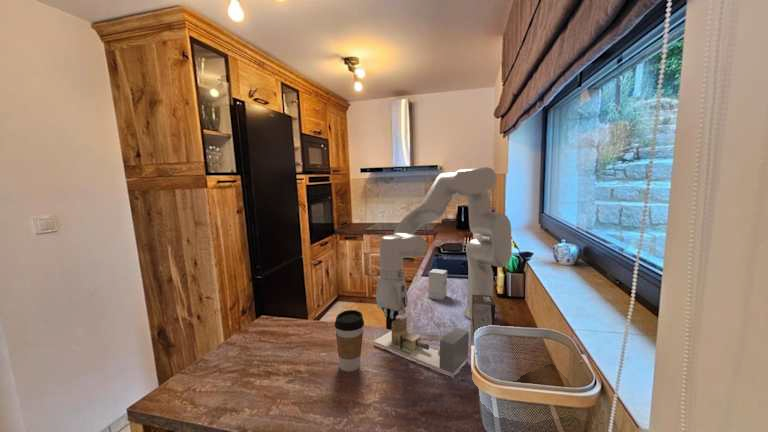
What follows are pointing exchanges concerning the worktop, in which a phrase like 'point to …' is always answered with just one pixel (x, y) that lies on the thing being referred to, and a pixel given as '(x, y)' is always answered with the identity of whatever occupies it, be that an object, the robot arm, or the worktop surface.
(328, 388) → the worktop surface
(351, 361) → the coffee cup
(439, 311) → the worktop surface
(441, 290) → the supplement box
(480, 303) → the coffee box
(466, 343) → the beige vise
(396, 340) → the beige stepped block
